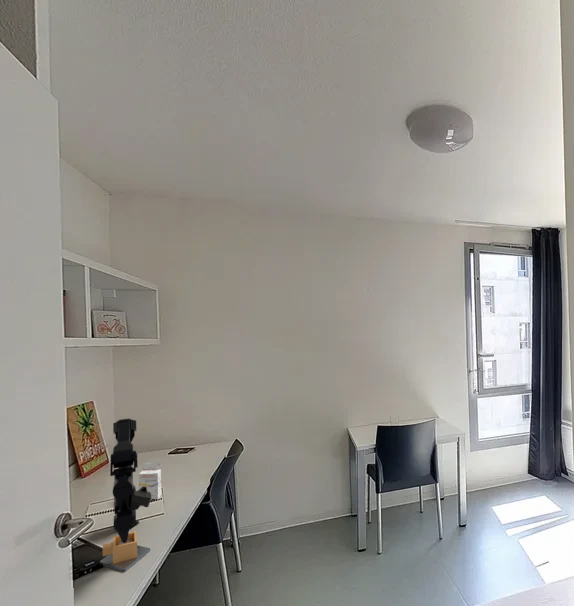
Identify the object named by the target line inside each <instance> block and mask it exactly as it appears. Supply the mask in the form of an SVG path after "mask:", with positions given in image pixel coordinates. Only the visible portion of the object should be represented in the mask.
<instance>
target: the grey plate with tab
mask: <svg viewBox="0 0 574 606" xmlns="http://www.w3.org/2000/svg"><path fill="white" fill-rule="evenodd" d="M130 542H132V539H130V540H127V542H126V543H130ZM126 543H123V542H118V545H122V544H126ZM150 552H151V548H150V547H146V546H142V545H138V544H137V558H134V559H130V560H126V561H123V562H119V563H115V564H113V554H110V555H106V556H104V557H103V558H102V559H101V560H99V561H100V562H101V563H102V564H103V567H107V568H110V569H113V570H114V569H115V570H118V571H122V572H125V573H126V572H127V571H128V570H129V569H130V568H132V567H133V566H134V565H136V564H137V563H138V562H139V561H141V559H143V558H144V557H145V556H146V555H148V554H149V553H150ZM147 553H148V554H147Z"/></svg>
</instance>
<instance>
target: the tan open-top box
mask: <svg viewBox="0 0 574 606" xmlns="http://www.w3.org/2000/svg"><path fill="white" fill-rule="evenodd" d="M137 537H138V536H137V531H136V530H135V531H132V532H131V531H129V533H128V538H127V540H130V539H132V542H130V543H126V544H122V545H118V542H122V540H121V538H120V536H119V534H118V535H115V536H113V540H112V541H111V542H108V543H103V544H102V557H106V556H108V555H110V554H113V564H115V563H119V562H123V561H126V560H130V559H134V558H137V545H138V538H137Z"/></svg>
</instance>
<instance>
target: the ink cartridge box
mask: <svg viewBox="0 0 574 606" xmlns="http://www.w3.org/2000/svg"><path fill="white" fill-rule="evenodd" d="M142 486H144V487H147V492H148V491H149V492H150V493H151V500H150V501H153V500H152V499H158V500H159V499H160V498H161V496H162V469H161V462H143V463H142V470H141V471H140V472H139V473H138V490H140V489H141V488H142Z"/></svg>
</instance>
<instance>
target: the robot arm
mask: <svg viewBox="0 0 574 606" xmlns="http://www.w3.org/2000/svg"><path fill="white" fill-rule="evenodd" d="M112 427H113V429H112V431H113V435H115V440H116V441H117V443H116V445H114V447H113V449H112V453H111V454H110V467H109V468H110V470H109V471H110V473H109V474H110V475H109V476H110V477H114V482H113V487H112V495H113V510H114V515H113V529H114V530H115V531H116V532H117V534H118V535H119V536H120V538H121V540H122V542H123V543H126V542H127V538H128V533H130V530H131V529H133V527H136V526H137V525H138V524H140V521H139V520H137V514H136V513H137V512H136V511H137V510H139V509H140V507H143V508H149V506H150V503H151V501H152V500H151V493H150V492H149V491H148V492H147V487H144V486H142V488H141V489H140V490H139V489H137V488H136V486H135V485H134V473H136V468H138V467H139V466H138V465H139V464H138V453H137V451H136V450H134V444H133V443H132V442H133V440H134V438H135V435H136V434H135V433H136V432H137V420H135V419H132V418H128V417H127V418H122V419H118V420H117V421H116V422H113V425H112Z"/></svg>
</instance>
